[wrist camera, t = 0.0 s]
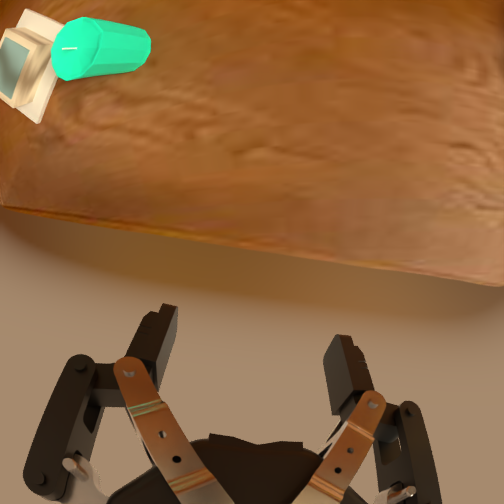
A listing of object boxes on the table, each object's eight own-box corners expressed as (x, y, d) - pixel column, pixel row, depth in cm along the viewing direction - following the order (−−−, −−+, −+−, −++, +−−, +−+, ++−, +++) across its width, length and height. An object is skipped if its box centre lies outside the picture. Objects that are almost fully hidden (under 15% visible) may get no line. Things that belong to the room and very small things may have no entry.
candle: (144, 75, 25) (83, 83, 15) (102, 71, 24) (34, 83, 14) (157, 27, 21) (99, 12, 12) (112, 26, 21) (46, 19, 11)
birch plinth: (25, 27, 17) (5, 28, 14) (57, 44, 20) (36, 45, 17) (3, 80, 22) (-16, 86, 18) (32, 101, 25) (12, 108, 21)
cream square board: (28, 9, 16) (25, 8, 15) (81, 33, 21) (77, 33, 20) (-4, 88, 23) (-8, 89, 22) (40, 122, 27) (36, 124, 27)
